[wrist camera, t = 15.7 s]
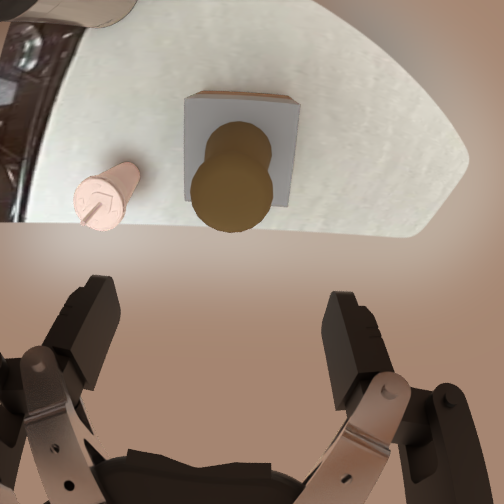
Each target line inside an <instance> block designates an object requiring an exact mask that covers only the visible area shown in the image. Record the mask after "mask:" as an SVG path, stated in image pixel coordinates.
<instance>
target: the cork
mask: <svg viewBox="0 0 504 504" xmlns="http://www.w3.org/2000/svg"><path fill="white" fill-rule="evenodd" d="M271 157H272V150H271V144H270V142H269V139H268V137H267V136H266V135H265V133H264V132H263V131H262V130H261V129H260V128H258V127H256V126H255V125H253V124H251V123H247V122H242V121H236V122H229V123H226V124H224V125H222V126H220V127H218V128H217V129H216V130H215V131H214V132H213V133H212V134H211V136H210V137H209V139H208V141H207V143H206V148H205V157H204V162H203V163H202V164H201V165H200V166H199V168H198V170H197V171H196V173H195V175H194V177H193V178H192V182H191V188H190V195H191V201H192V206H193V208H194V210H195V212H196V214H197V216H198V217H199V218H200V219H201V220H202V221H203V222H204V223H205V224H206V225H208V226H210V227H212V228H214V229H216V230H219V231H223V232H228V233H233V232H242V231H245V230H248V229H251V228H253V227H254V226H256V225H257V224H258V223H260V222H261V221H262V220H263V218H264V217H265V216H266V214H267V213H268V211H269V210H270V207H271V204H272V200H273V183H272V180H271V178H270V175H269V173H268V168H269V165H270V161H271Z"/></svg>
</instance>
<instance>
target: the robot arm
mask: <svg viewBox="0 0 504 504" xmlns="http://www.w3.org/2000/svg"><path fill="white" fill-rule="evenodd" d="M136 1H137V0H0V22H1V21H5V22H6V21H7V22H42V23H55V24H66V25H75V26H82V27H87V28H90V27H91V28H104V27H107V26H110V25H112V24H114V23H116V22H118V21H119V20H121V19H122V18H124V17H125V16H126V15H127V14H128V13H129V12H130V10H131V9H132V8H133V6H134V5H135V3H136ZM120 311H121V310H120V304H119V301H118V297H117V293H116V289H115V285H114V281H113V279H112V277H110V276H101V275H92V276H91V277H90V278H89V280H88V282H87V283H86V285H85V286H84V287H79V288H78V289H77V290H76V291H74V292H73V293H72V294H71V295H70V296H69V298H68V299H67V301H66V303H65V304H64V307H63V308H62V309H61V311H60V314H59V315H58V316H57V318H56V320H55V322H54V323H53V325H52V327H51V329H50V331H49V333H48V334H47V336H46V338H45V340H44V342H43V344H42V345H41V346H35V347H32V348H31V349H29V350H28V351H26V352H25V353H24V355H23V357H22V358H11V359H10V358H9V359H4V357H3V356H2V354H1V353H0V403H1V404H0V504H19V502H18V501H17V498H16V495H15V493H14V492H13V491H14V486H15V481H16V476H17V472H18V467H19V463H20V459H21V455H22V451H23V447H24V444H25V440H26V437H28V440H29V444H30V447H31V451H32V454H33V457H34V461H35V463H36V466H37V470H38V473H39V475H40V478H41V481H42V483H43V486H44V489H45V492H46V494H47V496H48V499H49V500H48V501H47V502H45V503H44V504H364V503H365V501H366V499H367V498H368V496H369V494H370V492H371V491H372V489H373V487H374V485H375V484H376V482H377V480H378V478H379V476H380V474H381V472H382V470H383V469H384V467H385V465H386V463H387V461H388V459H389V456H390V450H389V445H390V443H396V444H398V447H399V454H400V460H401V466H402V472H403V480H404V487H405V495H406V503H407V504H493V498H492V493H491V487H490V483H489V478H488V473H487V469H486V465H485V461H484V457H483V453H482V449H481V446H480V442H479V438H478V435H477V432H476V428H475V425H474V422H473V419H472V415H471V412H470V409H469V406H468V403H467V400H466V398H465V395H464V393H463V392H462V391H461V390H460V389H459V388H458V387H457V386H455V385H453V384H450V383H443V384H440V385H438V386H437V387H436V389H435V390H434V391H428V390H422V389H417V388H412V387H410V386H409V384H408V382H407V381H406V380H405V379H404V378H403V377H402V376H401V375H399V374H397V373H395V372H394V369H393V366H392V364H391V361H390V358H389V355H388V352H387V349H386V347H385V344H384V341H383V339H382V338H381V333H380V331H379V329H378V325H377V322H376V320H375V317H374V315H373V314H372V313H371V312H370V311H369V310H368V309H367V307H366V306H358V303H357V300H356V298H355V295H354V293H353V292H344V291H343V292H342V291H333V292H332V293H331V295H330V298H329V301H328V305H327V308H326V311H325V314H324V318H323V321H322V329H321V334H322V340H323V345H324V350H325V355H326V360H327V366H328V371H329V376H330V381H331V387H332V392H333V398H334V404H335V409H336V411H337V410H346V414H347V418H346V420H345V421H344V423H343V424H342V426H341V428H340V430H339V431H338V432H337V434H336V436H335V437H334V439H333V440H332V442H331V443H330V445H329V446H328V448H327V449H326V451H325V452H324V453H323V455H322V456H321V458H320V459H319V460H318V462H317V463H316V464H315V466H314V467H313V468H312V469H311V471H310V472H309V473H308V475H307V476H306V477H305V479H304V480H303V481H302V483H301V482H299V481H298V480H296V479H294V478H293V477H290V476H288V475H286V474H283V473H280V472H277V471H273V470H271V463H238V462H234V463H229V464H222V465H216V466H210V467H202V468H196V467H192V466H189V465H186V464H184V463H181V462H178V461H176V460H173V459H170V458H168V457H165V456H163V455H159V454H153V453H147V452H141V451H136V450H131V449H128V452H127V456H123V457H116V458H112V459H110V457H109V455H108V453H107V452H106V450H105V449H104V447H103V446H102V444H101V442H100V441H99V439H98V437H97V435H96V432H95V430H94V428H93V425H92V423H91V420H90V418H89V416H88V413H87V410H86V408H85V405H84V403H83V400H82V398H81V393H82V390H83V389H87V390H91V391H94V388H95V385H96V382H97V379H98V376H99V373H100V371H101V368H102V365H103V362H104V359H105V357H106V354H107V352H108V349H109V346H110V344H111V341H112V339H113V336H114V334H115V331H116V329H117V326H118V324H119V321H120V314H121V312H120Z"/></svg>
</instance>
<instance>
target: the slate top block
mask: <svg viewBox="0 0 504 504" xmlns="http://www.w3.org/2000/svg"><path fill="white" fill-rule="evenodd" d="M299 112H300V104H299V103H297V102H296V101H294V100H292V99H283V98H272V97H260V96H245V95H223V94H194V95H191V96H189V97H187V98H185V102H184V192H185V201H191V195H190V188H191V182H192V178H193V177H194V175H195V173H196V171H197V170H198V168H199V166H200V165H201V164H202V163H203V162H204V157H205V148H206V143H207V141H208V139H209V137H210V136H211V134H212V133H213V132H214V131H215V130H216V129H217V128H218V127H220V126H222V125H224V124H226V123H229V122H236V121H242V122H247V123H251V124H253V125H255V126H256V127H258V128H260V129H261V130H262V131H263V132H264V133H265V135H266V136H267V137H268V139H269V142H270V144H271V150H272V157H271V161H270V165H269V168H268V173H269V175H270V178H271V180H272V183H273V200H272V204H271V206H278V207H288V202H289V194H290V187H291V179H292V171H293V163H294V155H295V147H296V138H297V130H298V121H299Z"/></svg>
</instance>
